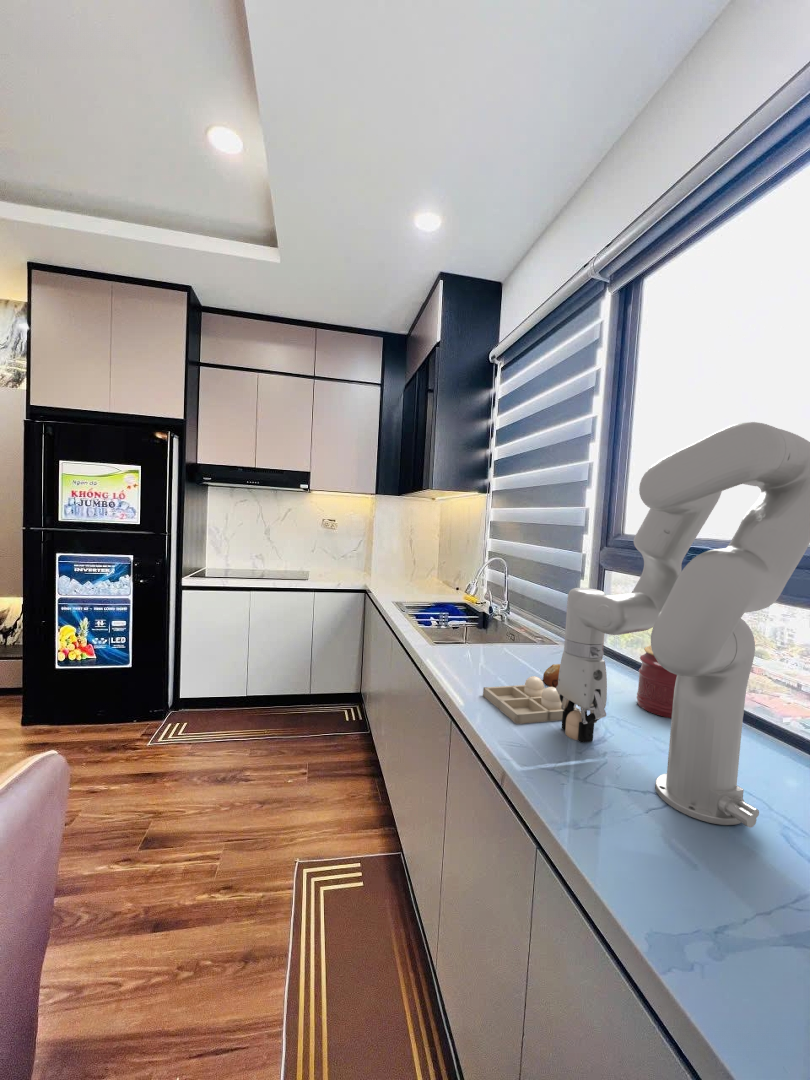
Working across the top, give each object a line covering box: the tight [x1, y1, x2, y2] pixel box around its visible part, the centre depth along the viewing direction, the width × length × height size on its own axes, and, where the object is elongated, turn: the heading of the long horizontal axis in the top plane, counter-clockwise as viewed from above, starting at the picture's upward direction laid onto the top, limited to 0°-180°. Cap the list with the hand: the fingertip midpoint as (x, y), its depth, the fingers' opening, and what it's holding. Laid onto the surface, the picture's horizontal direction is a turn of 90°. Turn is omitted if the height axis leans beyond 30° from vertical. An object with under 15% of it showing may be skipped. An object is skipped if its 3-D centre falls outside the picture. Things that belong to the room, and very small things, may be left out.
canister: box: [636, 645, 677, 719], centre depth 113 cm, size 13×13×18 cm
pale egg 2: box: [541, 686, 562, 710], centre depth 107 cm, size 5×5×6 cm
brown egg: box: [564, 710, 582, 741], centre depth 95 cm, size 5×5×6 cm
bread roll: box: [542, 663, 561, 688], centre depth 126 cm, size 10×10×8 cm
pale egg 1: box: [524, 675, 545, 697], centre depth 113 cm, size 5×5×6 cm
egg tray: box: [482, 684, 581, 725], centre depth 109 cm, size 16×16×3 cm
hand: (576, 734), depth 95 cm, fingers closed on brown egg, 4 cm apart
